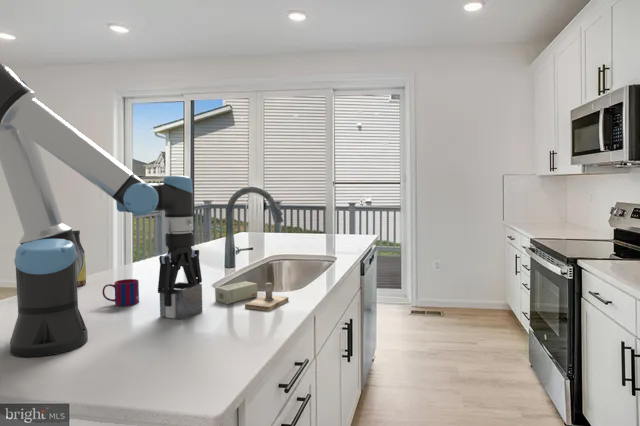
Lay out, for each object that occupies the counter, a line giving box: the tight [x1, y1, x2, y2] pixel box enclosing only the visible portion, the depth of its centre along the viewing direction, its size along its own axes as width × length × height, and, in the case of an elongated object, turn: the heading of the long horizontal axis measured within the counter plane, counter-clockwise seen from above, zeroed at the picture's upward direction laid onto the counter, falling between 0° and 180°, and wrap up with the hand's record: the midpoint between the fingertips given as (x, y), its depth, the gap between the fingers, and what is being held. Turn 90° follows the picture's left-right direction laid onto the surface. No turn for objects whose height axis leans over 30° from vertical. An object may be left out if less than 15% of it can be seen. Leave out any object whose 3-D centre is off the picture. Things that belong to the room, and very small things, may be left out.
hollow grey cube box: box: [159, 281, 203, 321], centre depth 127 cm, size 8×8×8 cm
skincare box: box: [214, 280, 258, 305], centre depth 144 cm, size 6×4×12 cm
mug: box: [102, 278, 140, 307], centre depth 139 cm, size 7×10×7 cm
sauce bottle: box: [72, 229, 87, 287], centre depth 164 cm, size 6×6×20 cm
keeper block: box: [244, 282, 289, 312], centre depth 137 cm, size 12×8×6 cm, turn 156°
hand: (181, 313), depth 128 cm, fingers closed on hollow grey cube box, 8 cm apart
